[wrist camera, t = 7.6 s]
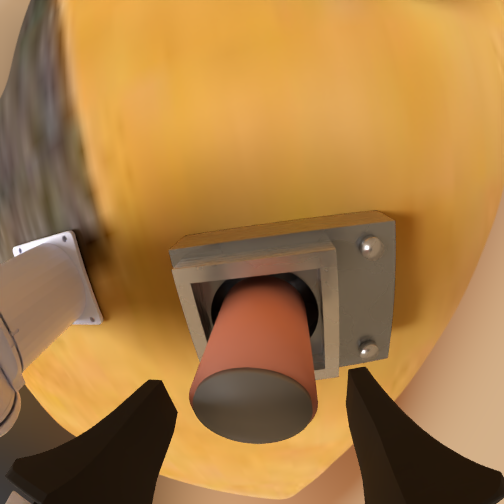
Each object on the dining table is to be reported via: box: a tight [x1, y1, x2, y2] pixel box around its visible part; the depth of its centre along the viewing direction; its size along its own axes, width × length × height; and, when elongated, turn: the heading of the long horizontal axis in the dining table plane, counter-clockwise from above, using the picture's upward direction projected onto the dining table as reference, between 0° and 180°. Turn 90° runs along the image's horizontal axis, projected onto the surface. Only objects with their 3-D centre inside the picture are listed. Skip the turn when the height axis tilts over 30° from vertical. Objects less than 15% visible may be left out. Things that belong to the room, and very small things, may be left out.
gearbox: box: [169, 210, 396, 380], centre depth 16 cm, size 12×9×4 cm
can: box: [189, 276, 318, 444], centre depth 12 cm, size 5×5×7 cm
